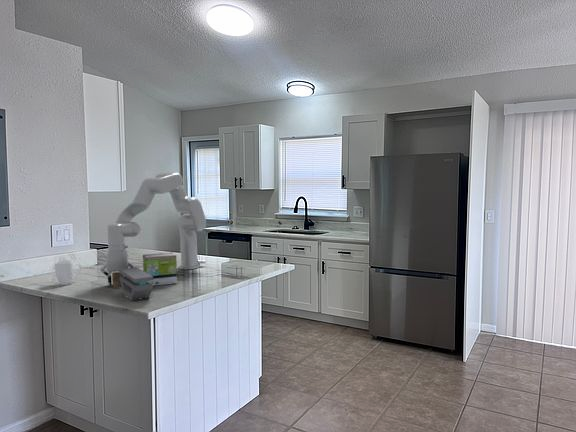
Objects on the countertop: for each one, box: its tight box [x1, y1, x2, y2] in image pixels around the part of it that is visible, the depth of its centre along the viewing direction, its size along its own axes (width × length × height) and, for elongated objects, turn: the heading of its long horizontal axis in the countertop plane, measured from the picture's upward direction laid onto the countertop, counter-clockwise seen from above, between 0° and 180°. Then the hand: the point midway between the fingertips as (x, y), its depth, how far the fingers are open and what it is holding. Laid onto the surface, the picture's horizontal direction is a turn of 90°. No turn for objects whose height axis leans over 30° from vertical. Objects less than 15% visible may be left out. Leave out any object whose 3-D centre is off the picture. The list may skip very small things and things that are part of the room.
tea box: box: [142, 252, 178, 286], centre depth 223 cm, size 15×10×15 cm
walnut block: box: [111, 271, 124, 287], centre depth 221 cm, size 5×5×6 cm
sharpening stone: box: [118, 266, 154, 301], centre depth 199 cm, size 25×8×11 cm, turn 35°
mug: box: [54, 260, 82, 286], centre depth 224 cm, size 12×8×11 cm
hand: (118, 283), depth 221 cm, fingers open, 6 cm apart
